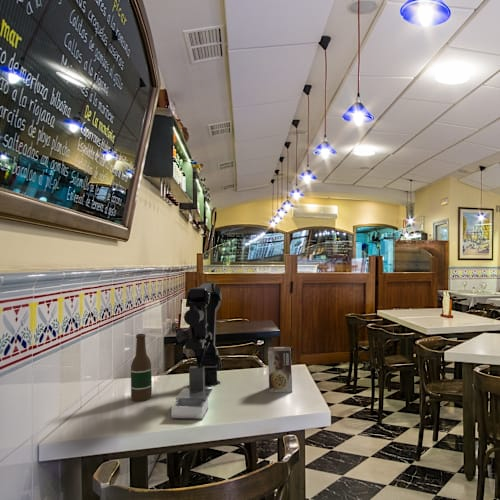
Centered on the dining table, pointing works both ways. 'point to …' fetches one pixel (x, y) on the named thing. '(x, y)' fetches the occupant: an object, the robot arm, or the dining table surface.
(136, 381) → the beer bottle
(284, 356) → the grey printed box
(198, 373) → the lid
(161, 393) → the dining table surface
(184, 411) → the white flat block
